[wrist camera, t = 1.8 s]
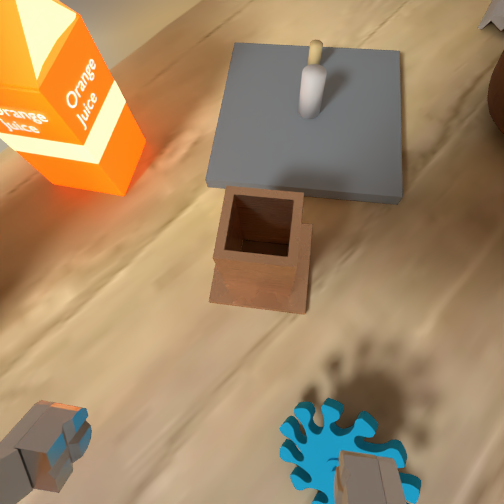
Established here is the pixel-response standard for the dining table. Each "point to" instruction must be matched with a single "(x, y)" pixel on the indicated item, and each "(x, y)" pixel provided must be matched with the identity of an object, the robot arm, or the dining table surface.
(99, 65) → the orange juice
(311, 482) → the gear
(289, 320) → the dining table surface
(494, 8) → the half-moon napkin holder
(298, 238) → the copper sleeve
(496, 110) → the ceramic pitcher
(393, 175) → the base plate
